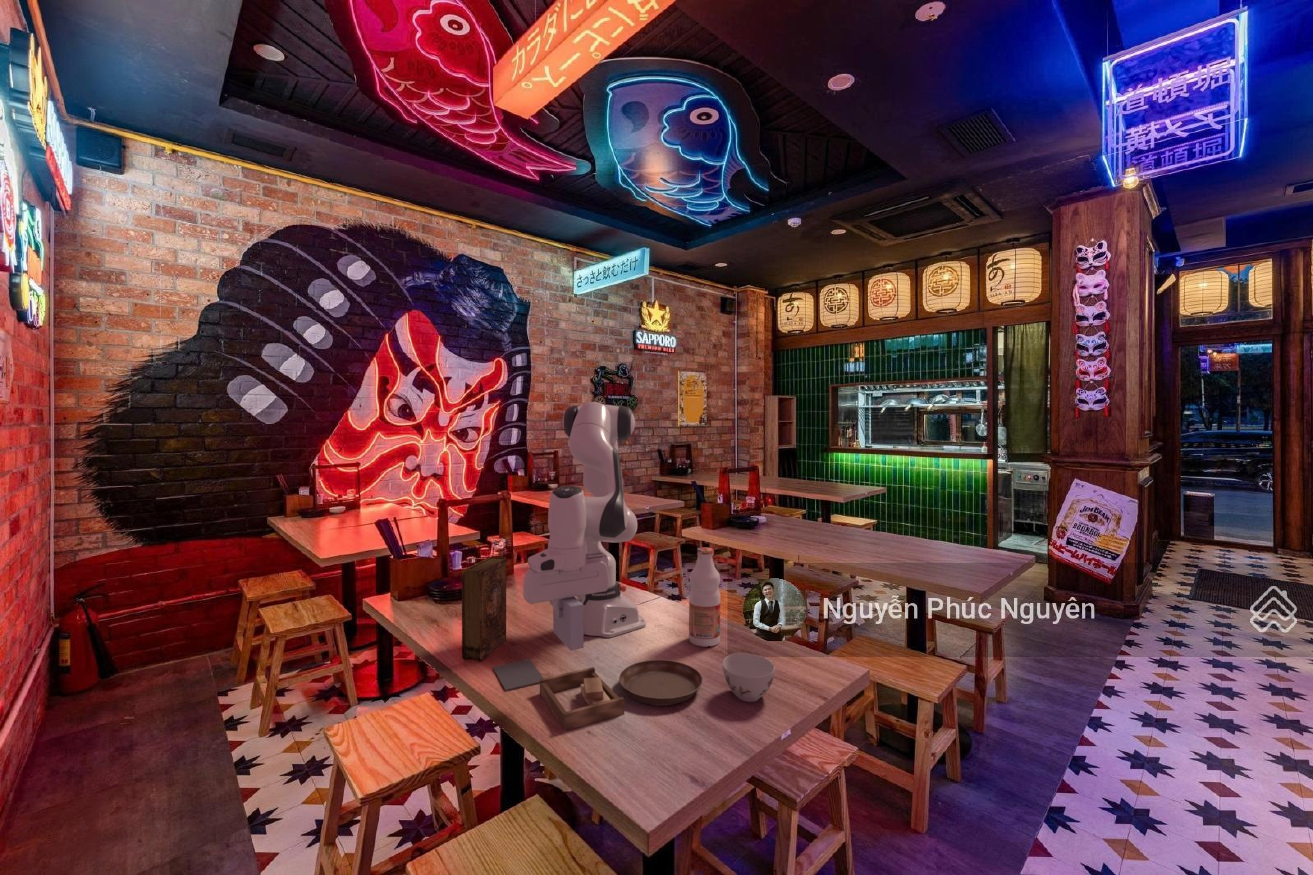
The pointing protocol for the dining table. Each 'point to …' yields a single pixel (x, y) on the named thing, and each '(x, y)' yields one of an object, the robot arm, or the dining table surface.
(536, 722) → the dining table surface
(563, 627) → the block
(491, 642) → the book
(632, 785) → the dining table surface
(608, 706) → the brown open frame piece
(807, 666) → the dining table surface
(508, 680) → the mat
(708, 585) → the fruit juice
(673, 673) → the plant saucer
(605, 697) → the block
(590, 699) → the offcut short
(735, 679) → the teacup
